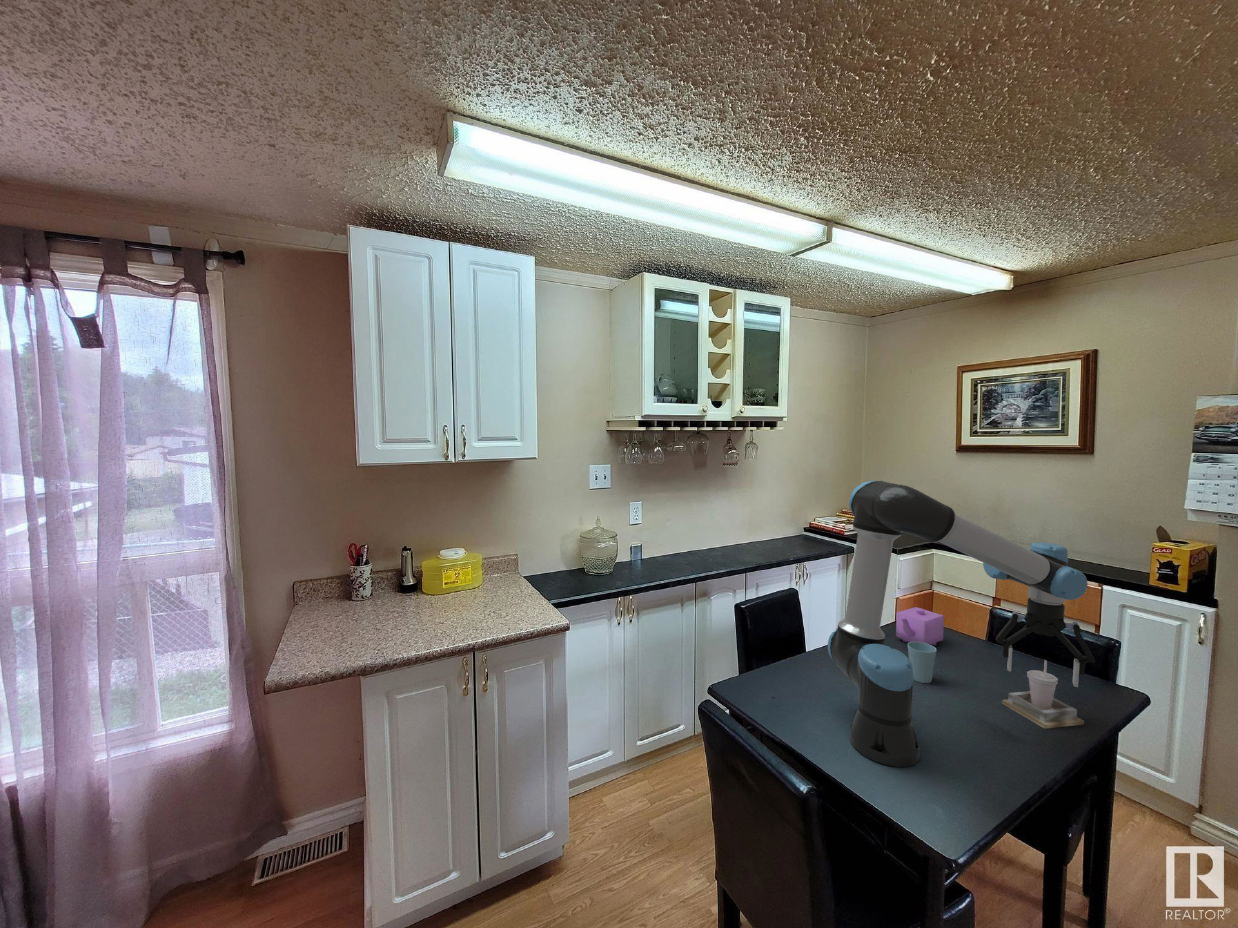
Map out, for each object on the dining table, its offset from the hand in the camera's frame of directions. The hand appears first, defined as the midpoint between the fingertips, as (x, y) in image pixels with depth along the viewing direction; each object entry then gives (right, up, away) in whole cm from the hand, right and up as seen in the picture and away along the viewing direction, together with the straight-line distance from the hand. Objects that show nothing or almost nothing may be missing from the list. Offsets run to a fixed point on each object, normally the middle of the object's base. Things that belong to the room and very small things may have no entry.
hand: (1041, 676), depth 131 cm
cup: (-20, -10, +20) cm, 30 cm away
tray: (+1, -10, +1) cm, 10 cm away
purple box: (-6, -8, +46) cm, 47 cm away
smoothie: (+1, -10, +1) cm, 10 cm away
